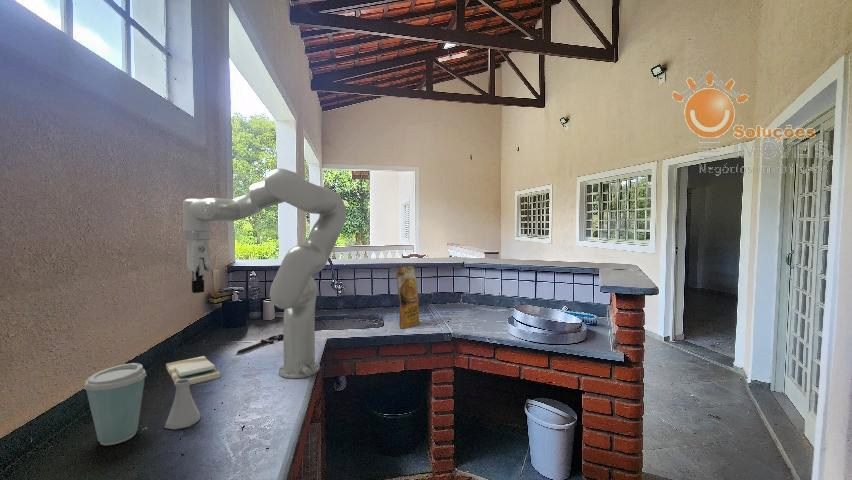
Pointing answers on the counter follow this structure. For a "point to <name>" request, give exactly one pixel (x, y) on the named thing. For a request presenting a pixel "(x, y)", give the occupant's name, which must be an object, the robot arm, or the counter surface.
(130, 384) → the disposable coffee cup
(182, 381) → the flask
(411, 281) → the pancake mix bag
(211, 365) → the tile
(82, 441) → the counter surface
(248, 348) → the knife
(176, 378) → the board
